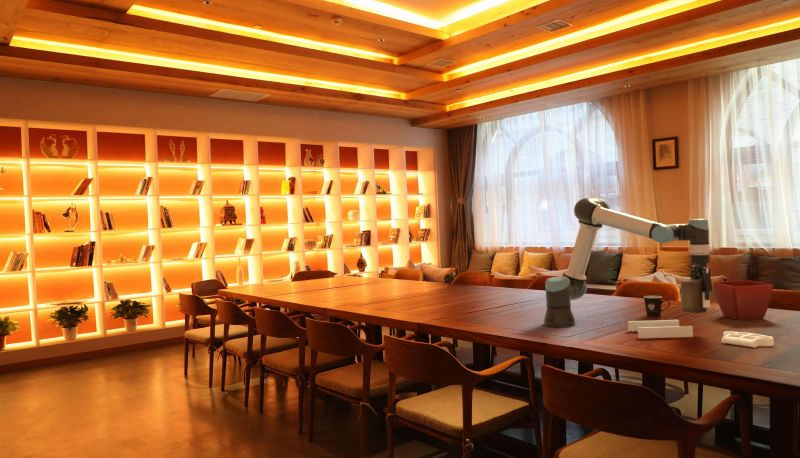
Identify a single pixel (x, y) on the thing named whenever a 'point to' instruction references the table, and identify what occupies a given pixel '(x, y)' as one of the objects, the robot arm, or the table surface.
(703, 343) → the table surface
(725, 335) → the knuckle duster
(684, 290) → the pillar candle
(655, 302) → the coffee mug
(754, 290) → the plant pot
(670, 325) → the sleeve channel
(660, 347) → the table surface
